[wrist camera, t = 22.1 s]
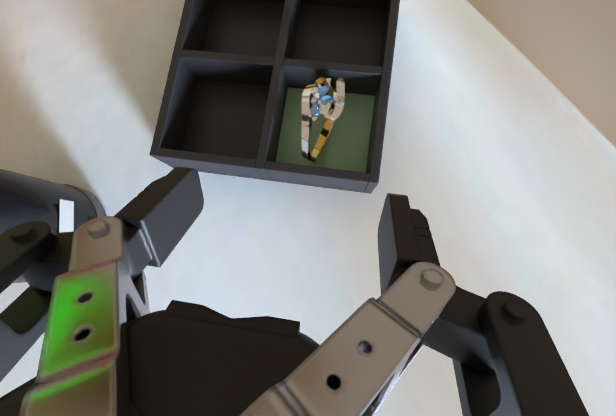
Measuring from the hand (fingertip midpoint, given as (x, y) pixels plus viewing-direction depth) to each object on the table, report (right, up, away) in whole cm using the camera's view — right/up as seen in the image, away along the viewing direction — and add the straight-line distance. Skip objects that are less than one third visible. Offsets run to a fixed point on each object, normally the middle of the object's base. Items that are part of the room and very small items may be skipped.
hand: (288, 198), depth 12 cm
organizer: (-1, +12, +17) cm, 21 cm away
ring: (+3, +6, +16) cm, 17 cm away
